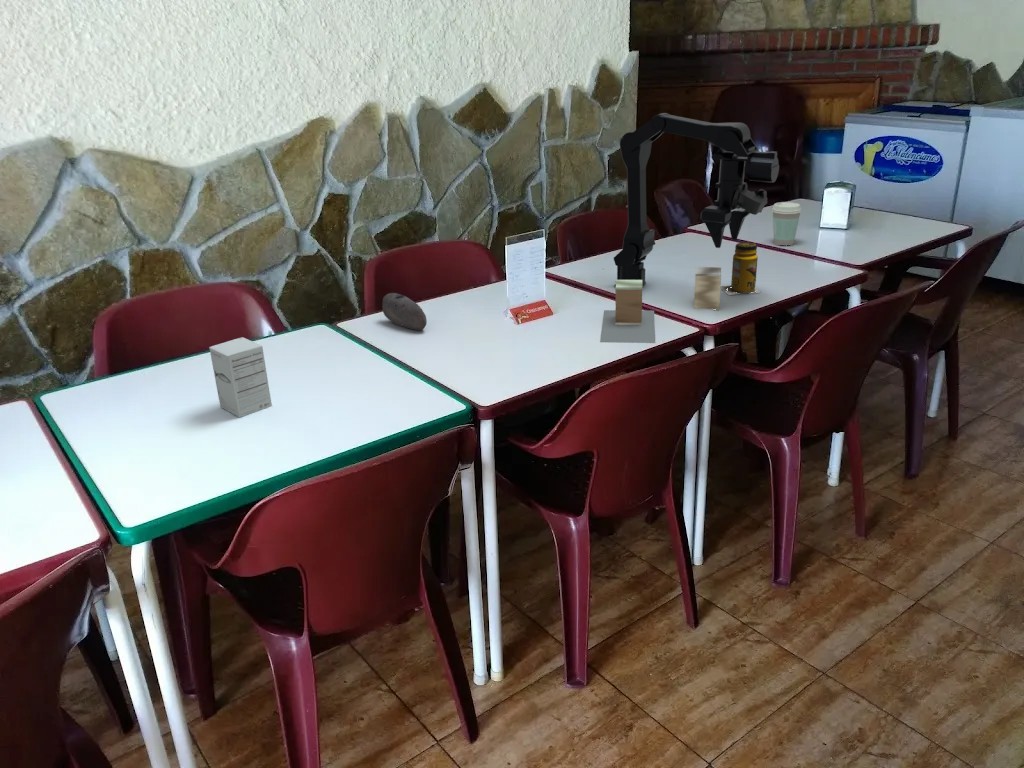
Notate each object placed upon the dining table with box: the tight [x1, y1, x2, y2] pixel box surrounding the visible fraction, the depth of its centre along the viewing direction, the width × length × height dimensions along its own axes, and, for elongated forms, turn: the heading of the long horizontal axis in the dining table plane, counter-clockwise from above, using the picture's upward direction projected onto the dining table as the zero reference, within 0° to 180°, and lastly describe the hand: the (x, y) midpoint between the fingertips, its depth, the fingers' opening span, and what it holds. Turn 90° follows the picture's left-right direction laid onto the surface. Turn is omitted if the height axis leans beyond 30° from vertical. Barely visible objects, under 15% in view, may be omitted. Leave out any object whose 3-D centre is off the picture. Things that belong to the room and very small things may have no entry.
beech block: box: [693, 266, 722, 311], centre depth 206 cm, size 6×6×9 cm
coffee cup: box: [771, 201, 802, 247], centre depth 257 cm, size 9×9×12 cm
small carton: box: [615, 279, 643, 325], centre depth 198 cm, size 6×6×9 cm
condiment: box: [720, 241, 761, 296], centre depth 217 cm, size 7×8×12 cm
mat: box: [599, 309, 656, 344], centre depth 196 cm, size 22×12×1 cm, turn 172°
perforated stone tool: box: [382, 292, 428, 331], centre depth 202 cm, size 15×5×7 cm, turn 39°
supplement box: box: [208, 336, 273, 418], centre depth 161 cm, size 7×7×13 cm
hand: (726, 243), depth 208 cm, fingers open, 9 cm apart
